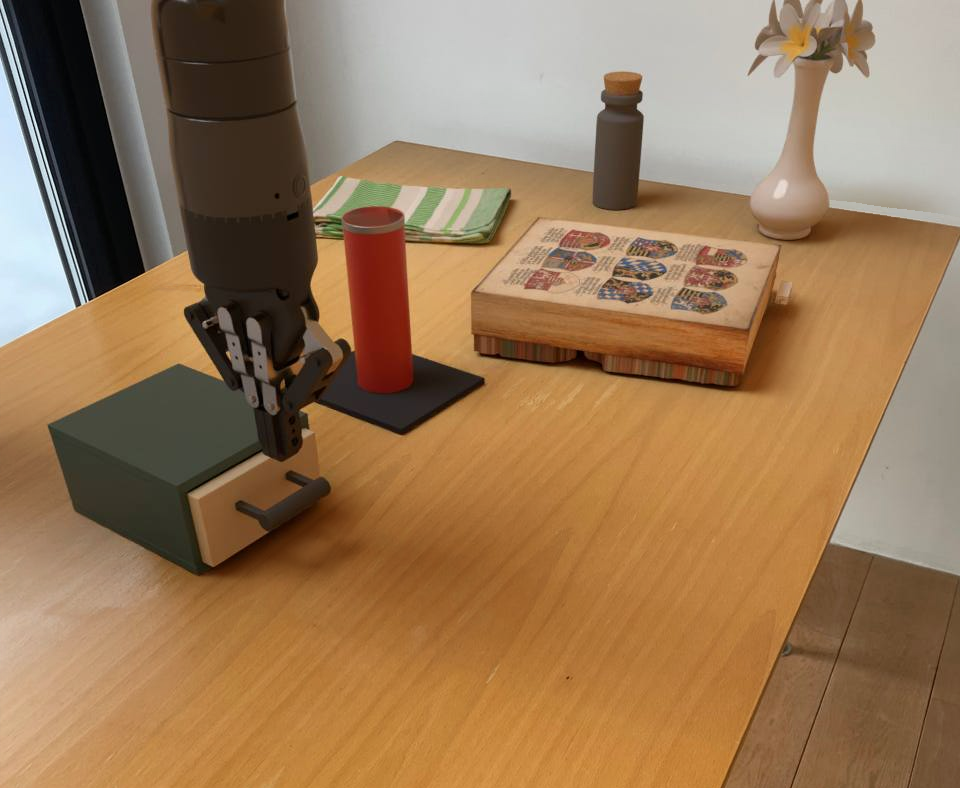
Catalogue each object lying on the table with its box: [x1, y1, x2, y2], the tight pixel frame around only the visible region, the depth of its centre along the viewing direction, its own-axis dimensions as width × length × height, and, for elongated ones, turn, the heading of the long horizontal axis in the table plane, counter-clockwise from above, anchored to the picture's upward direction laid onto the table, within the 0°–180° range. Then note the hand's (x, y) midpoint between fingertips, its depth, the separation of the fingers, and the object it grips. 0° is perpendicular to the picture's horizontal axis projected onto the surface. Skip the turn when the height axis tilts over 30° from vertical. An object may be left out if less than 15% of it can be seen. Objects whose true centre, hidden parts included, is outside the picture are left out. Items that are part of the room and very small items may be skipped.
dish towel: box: [313, 175, 512, 245], centre depth 132 cm, size 18×23×3 cm
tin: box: [341, 206, 414, 394], centre depth 92 cm, size 5×5×15 cm
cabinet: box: [46, 362, 310, 576], centre depth 80 cm, size 15×13×8 cm
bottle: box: [592, 71, 645, 211], centre depth 132 cm, size 6×6×15 cm
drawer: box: [187, 428, 332, 568], centre depth 79 cm, size 17×11×6 cm, turn 53°
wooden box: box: [470, 216, 794, 387], centre depth 106 cm, size 25×6×28 cm
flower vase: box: [747, 0, 876, 241], centre depth 120 cm, size 13×18×25 cm
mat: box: [315, 349, 485, 436], centre depth 97 cm, size 14×12×1 cm
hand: (282, 454), depth 71 cm, fingers closed
